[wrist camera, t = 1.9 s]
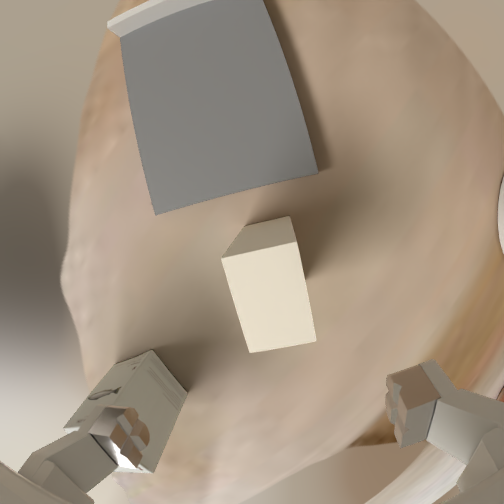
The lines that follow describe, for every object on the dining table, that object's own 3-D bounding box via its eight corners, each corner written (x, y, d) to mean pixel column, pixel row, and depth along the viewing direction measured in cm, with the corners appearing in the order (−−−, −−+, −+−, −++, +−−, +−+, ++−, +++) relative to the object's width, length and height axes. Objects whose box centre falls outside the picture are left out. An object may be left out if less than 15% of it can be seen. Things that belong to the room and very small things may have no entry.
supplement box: (152, 347, 29) (98, 425, 17) (189, 393, 30) (156, 476, 18) (112, 362, 30) (60, 427, 18) (147, 404, 32) (109, 473, 19)
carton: (303, 280, 25) (316, 341, 15) (258, 290, 26) (246, 353, 16) (289, 215, 24) (296, 241, 14) (241, 226, 24) (217, 259, 15)
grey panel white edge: (255, -11, 18) (252, -34, 14) (316, 173, 23) (323, 172, 19) (125, 34, 20) (107, 19, 16) (162, 213, 25) (142, 219, 21)
